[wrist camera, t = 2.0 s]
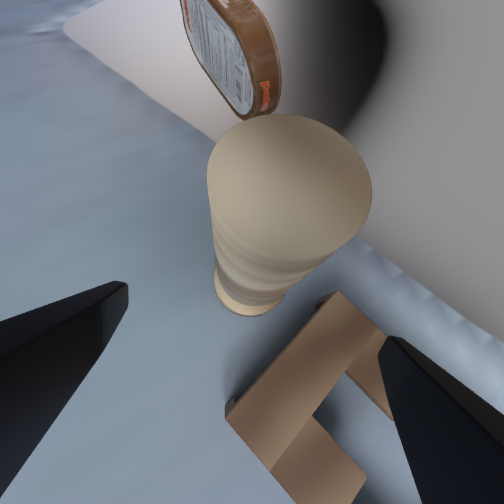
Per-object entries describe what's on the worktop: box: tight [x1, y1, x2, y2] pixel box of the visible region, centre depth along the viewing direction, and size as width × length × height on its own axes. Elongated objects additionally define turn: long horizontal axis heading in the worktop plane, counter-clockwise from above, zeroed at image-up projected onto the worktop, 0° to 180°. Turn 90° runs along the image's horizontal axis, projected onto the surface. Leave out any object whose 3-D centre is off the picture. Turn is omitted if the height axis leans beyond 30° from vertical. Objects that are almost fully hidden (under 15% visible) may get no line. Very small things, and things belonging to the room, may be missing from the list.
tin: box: [180, 0, 282, 121], centre depth 23 cm, size 15×3×8 cm, turn 31°
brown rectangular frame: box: [225, 290, 394, 504], centre depth 16 cm, size 16×11×3 cm, turn 45°
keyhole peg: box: [207, 114, 372, 317], centre depth 14 cm, size 6×6×13 cm
